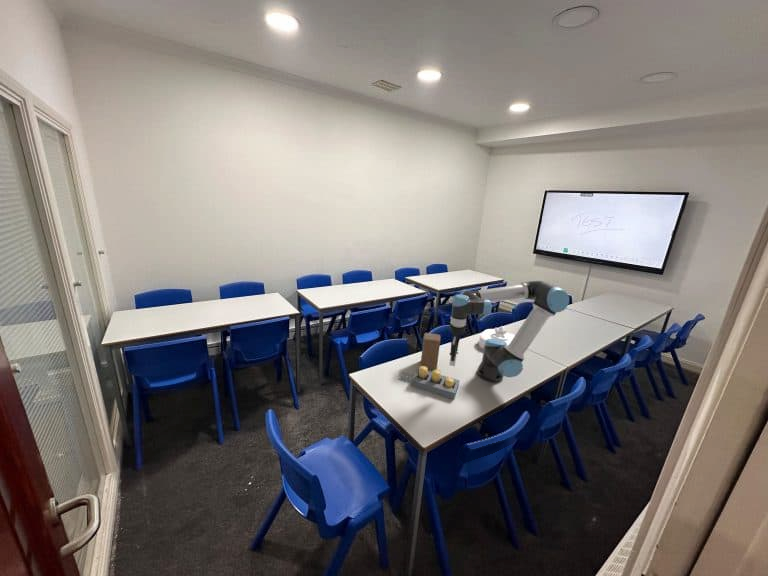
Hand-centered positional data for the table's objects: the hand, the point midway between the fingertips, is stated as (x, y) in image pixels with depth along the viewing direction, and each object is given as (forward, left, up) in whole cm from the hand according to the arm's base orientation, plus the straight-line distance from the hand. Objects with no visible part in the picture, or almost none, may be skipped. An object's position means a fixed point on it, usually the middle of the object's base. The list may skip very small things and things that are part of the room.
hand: (452, 365), depth 159 cm
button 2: (+8, 0, -12) cm, 14 cm away
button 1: (0, 0, -14) cm, 14 cm away
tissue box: (-21, -70, -16) cm, 75 cm away
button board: (+8, 0, -16) cm, 18 cm away
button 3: (+15, 0, -12) cm, 19 cm away
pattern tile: (+24, 0, -16) cm, 29 cm away
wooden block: (+17, -19, -16) cm, 30 cm away
